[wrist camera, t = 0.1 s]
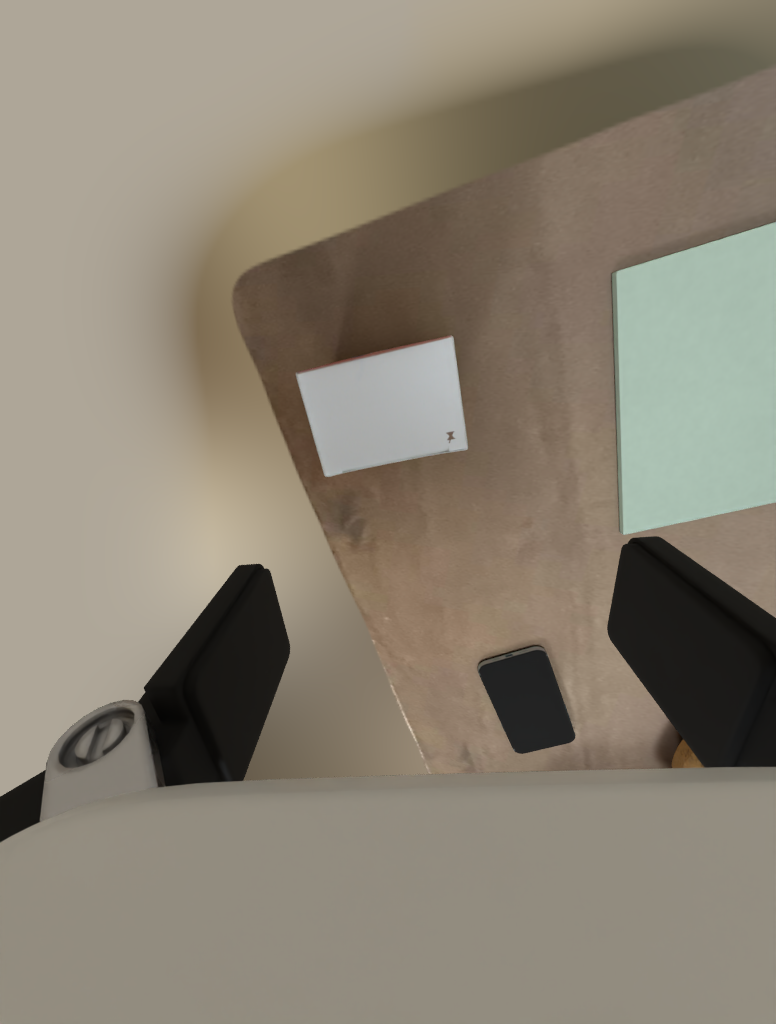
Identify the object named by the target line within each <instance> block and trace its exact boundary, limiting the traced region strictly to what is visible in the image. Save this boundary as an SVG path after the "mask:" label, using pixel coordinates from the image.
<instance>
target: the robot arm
mask: <svg viewBox="0 0 776 1024" xmlns="http://www.w3.org/2000/svg"><path fill="white" fill-rule="evenodd" d="M607 630H608V635H609V638H610V640H611V641H612V643H613V644H614V646H615V647H616V648H617V650H618V651H619V652H620V654H621V655H622V656H623V658H624V659H625V660H626V662H627V663H628V665H629V666H630V667H631V669H632V670H633V671H634V673H635V674H636V675H637V677H638V678H639V679H640V681H641V682H642V684H643V685H644V686H645V688H646V689H647V690H648V692H649V693H650V694H651V696H652V697H653V699H654V700H655V701H656V703H657V704H658V705H659V707H660V708H661V709H662V711H663V712H664V713H665V715H666V716H667V718H668V719H669V720H670V722H671V723H672V724H673V726H674V727H675V728H676V730H677V731H678V733H679V734H680V735H681V737H682V738H683V739H684V741H685V742H686V743H687V745H688V746H689V747H690V749H691V750H692V752H693V753H694V754H695V756H696V757H697V758H698V760H699V761H700V762H701V764H702V765H703V766H704V767H705V768H663V769H616V770H571V771H532V772H493V773H457V774H426V775H425V774H424V775H423V774H422V775H390V776H360V777H329V778H298V779H271V780H253V781H243V779H244V777H245V774H246V772H247V769H248V766H249V763H250V761H251V758H252V755H253V752H254V750H255V747H256V745H257V742H258V739H259V736H260V734H261V731H262V728H263V725H264V723H265V720H266V718H267V715H268V712H269V709H270V707H271V704H272V701H273V699H274V696H275V693H276V691H277V688H278V685H279V682H280V680H281V677H282V674H283V672H284V669H285V666H286V664H287V661H288V658H289V654H290V644H289V639H288V636H287V632H286V629H285V625H284V621H283V617H282V613H281V610H280V606H279V603H278V599H277V595H276V591H275V587H274V584H273V580H272V576H271V573H270V571H269V569H264V567H263V566H262V565H261V564H251V565H239V566H238V567H237V568H236V569H235V570H234V572H233V573H232V574H231V575H230V577H229V578H228V579H227V581H226V582H225V584H224V585H223V586H222V587H221V589H220V590H219V591H218V592H217V594H216V595H215V596H214V597H213V599H212V600H211V602H210V603H209V604H208V606H207V607H206V608H205V609H204V610H203V612H202V613H201V614H200V616H199V617H198V618H197V619H196V621H195V622H194V623H193V625H192V626H191V627H190V629H189V630H188V631H187V632H186V634H185V635H184V636H183V638H182V639H181V640H180V642H179V643H178V644H177V645H176V647H175V648H174V649H173V651H172V652H171V653H170V654H169V656H168V657H167V658H166V660H165V661H164V662H163V664H162V665H161V666H160V667H159V669H158V670H157V671H156V673H155V674H154V675H153V676H152V678H151V679H150V680H149V682H148V683H147V684H146V685H145V687H144V689H145V694H144V695H143V696H142V698H141V699H140V700H139V702H136V701H133V700H122V701H117V702H113V703H110V704H108V705H105V706H102V707H100V708H98V709H96V710H94V711H93V712H91V713H89V714H88V715H86V716H84V717H83V718H81V719H80V720H79V721H78V722H76V723H75V724H74V725H72V726H71V727H70V728H69V729H68V730H67V731H66V732H65V733H64V734H63V735H62V736H61V737H60V738H59V739H58V741H57V742H56V744H55V745H54V747H53V748H52V750H51V751H50V754H49V757H48V760H47V763H46V770H45V771H43V772H41V773H40V774H38V775H36V776H35V777H33V778H31V779H30V780H28V781H26V782H25V783H23V784H22V785H19V786H18V787H16V788H14V789H13V790H11V791H9V792H8V793H6V794H4V795H3V796H1V797H0V1024H776V618H775V617H773V616H772V615H770V614H769V613H768V612H766V611H765V610H763V609H762V608H760V607H759V606H758V605H756V604H755V603H753V602H752V601H751V600H749V599H748V598H746V597H745V596H743V595H742V594H741V593H739V592H738V591H736V590H735V589H733V588H732V587H731V586H729V585H728V584H726V583H725V582H723V581H722V580H721V579H719V578H718V577H716V576H715V575H713V574H712V573H711V572H709V571H708V570H706V569H705V568H703V567H702V566H701V565H699V564H698V563H696V562H695V561H694V560H692V559H691V558H689V557H688V556H686V555H685V554H684V553H682V552H681V551H679V550H678V549H676V548H675V547H674V546H672V545H671V544H669V543H668V542H666V541H665V540H664V539H662V538H660V537H656V536H654V537H640V538H632V539H630V541H629V542H628V544H625V545H623V547H622V549H621V554H620V560H619V565H618V571H617V576H616V582H615V587H614V593H613V598H612V604H611V609H610V615H609V620H608V627H607Z"/></svg>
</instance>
